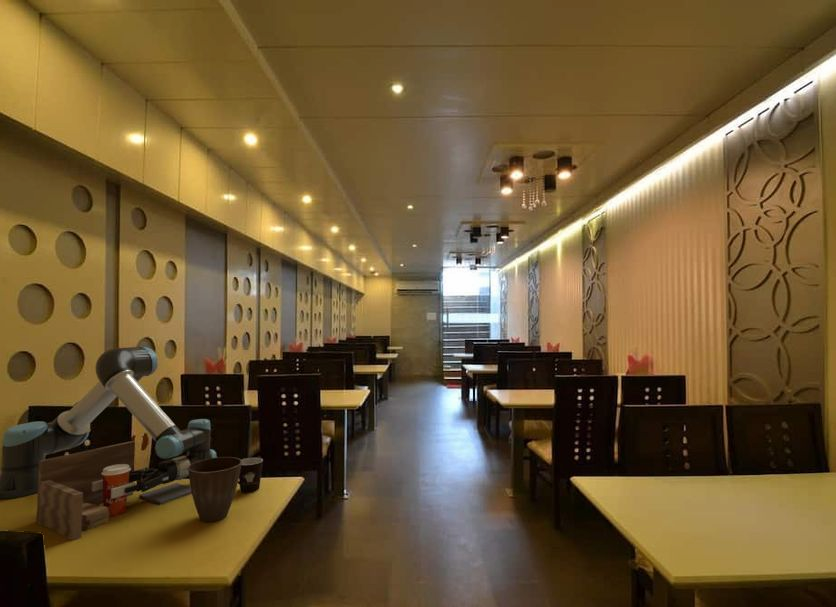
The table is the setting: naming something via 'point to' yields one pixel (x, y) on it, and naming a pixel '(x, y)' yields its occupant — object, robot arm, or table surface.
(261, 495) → the table surface
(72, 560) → the table surface
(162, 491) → the rubber mat
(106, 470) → the paper cup
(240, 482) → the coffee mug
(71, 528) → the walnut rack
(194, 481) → the plant pot
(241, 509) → the table surface
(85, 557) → the table surface
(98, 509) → the offcut stack
